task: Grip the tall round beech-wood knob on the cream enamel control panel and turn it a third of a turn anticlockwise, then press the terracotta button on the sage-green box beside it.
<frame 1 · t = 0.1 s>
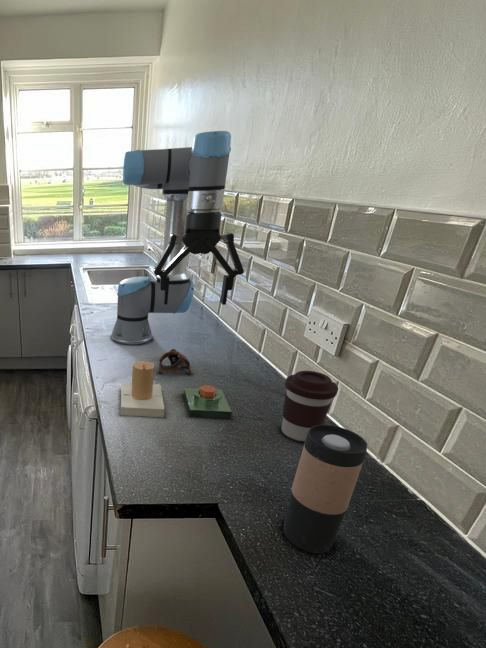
hand: (193, 303, 99), 28 cm above the countertop, tool pointing down, fingers open, 13 cm apart
button: (207, 391, 106), point 4 cm above the countertop, slide at 0.1 cm
knob: (142, 379, 108), point 7 cm above the countertop, hinge at 0.0°
button box: (205, 406, 108), on the countertop
panel: (141, 403, 111), on the countertop
travel mug: (306, 537, 68), on the countertop
brown arched frame: (174, 372, 128), on the countertop
coffee cup: (298, 434, 95), on the countertop
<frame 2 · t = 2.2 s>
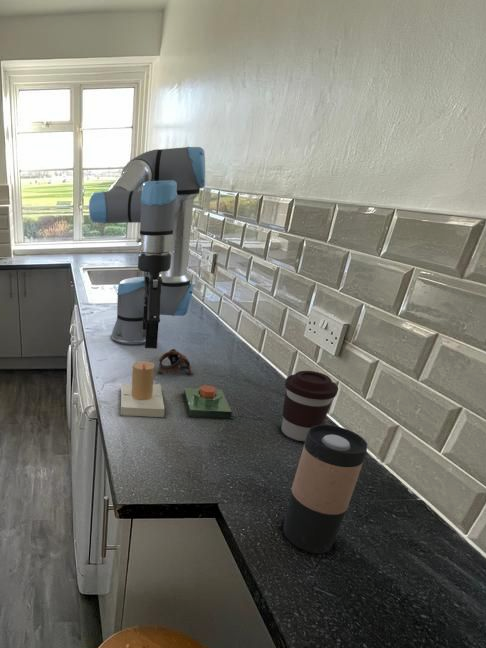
hand: (149, 338, 103), 19 cm above the countertop, tool pointing down, fingers open, 13 cm apart
nothing on the countertop moved.
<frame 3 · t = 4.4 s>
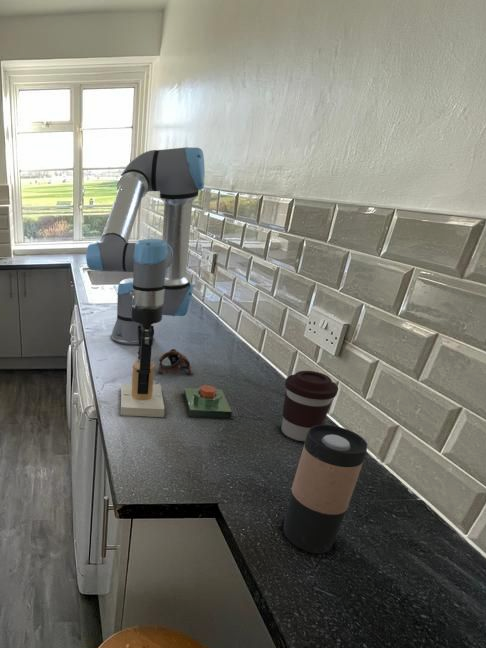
hand: (142, 387, 109), 5 cm above the countertop, tool pointing down, fingers closed on knob, 6 cm apart
knob: (142, 379, 108), point 7 cm above the countertop, hinge at 0.0°, touching gripper
everything else where it was.
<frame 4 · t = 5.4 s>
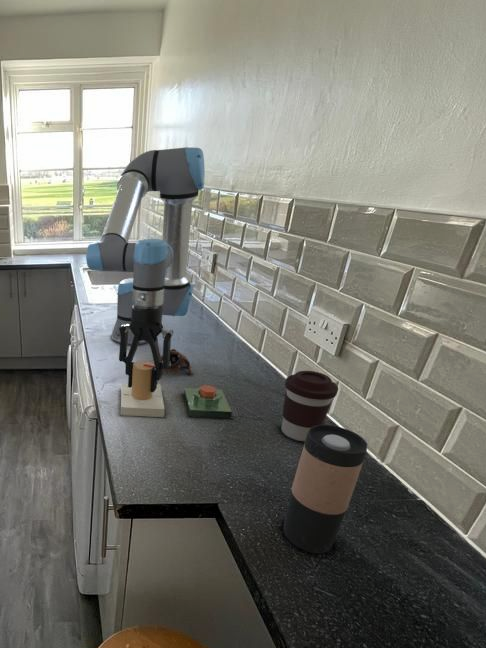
hand: (142, 387, 109), 5 cm above the countertop, tool pointing down, fingers closed on knob, 6 cm apart
knob: (142, 379, 108), point 7 cm above the countertop, hinge at 69.9°, touching gripper
everything else where it was.
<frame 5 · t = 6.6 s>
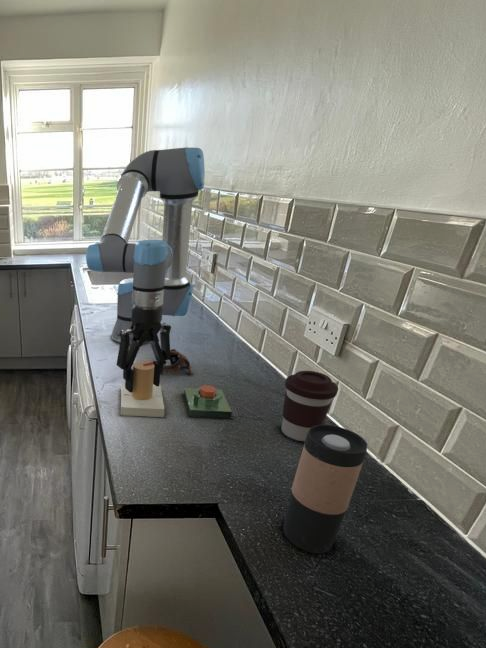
hand: (142, 387, 109), 5 cm above the countertop, tool pointing down, fingers open, 8 cm apart
knob: (142, 379, 108), point 7 cm above the countertop, hinge at 120.6°
everything else where it was.
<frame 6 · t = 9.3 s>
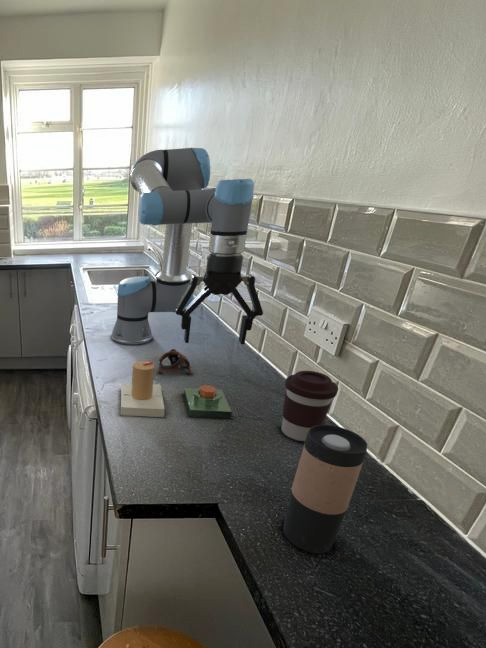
hand: (213, 341, 100), 19 cm above the countertop, tool pointing down, fingers open, 12 cm apart
nothing on the countertop moved.
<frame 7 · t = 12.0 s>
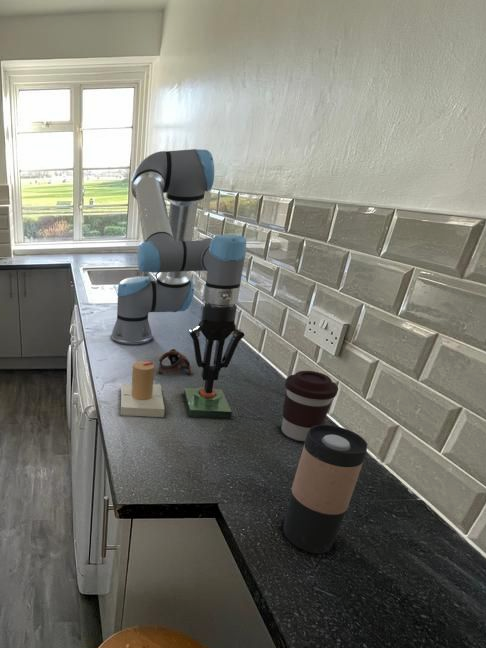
hand: (208, 390, 106), 5 cm above the countertop, tool pointing down, fingers closed
button: (207, 393, 106), point 4 cm above the countertop, slide at -0.6 cm, touching gripper
everything else where it was.
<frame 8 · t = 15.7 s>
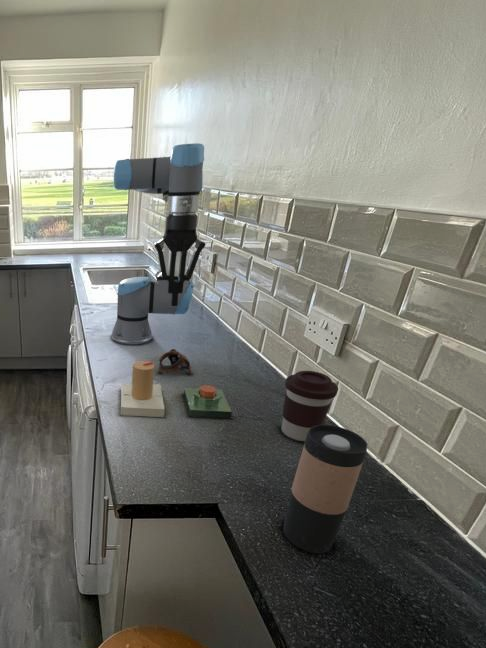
hand: (173, 304, 111), 24 cm above the countertop, tool pointing down, fingers closed
button: (207, 391, 106), point 4 cm above the countertop, slide at 0.1 cm
everything else where it was.
at the end: knob at +121° (first picture: +0°); button pushed in 1.0 cm at the most during the clip, back to where it started at the end; button slide at 0.1 cm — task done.
